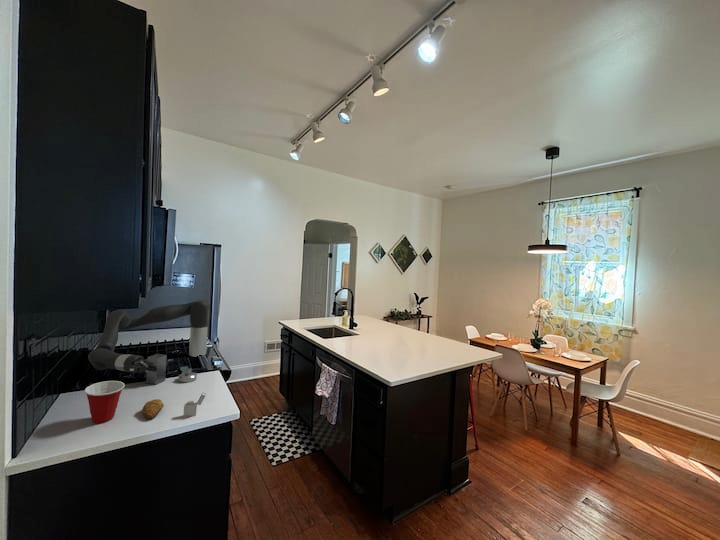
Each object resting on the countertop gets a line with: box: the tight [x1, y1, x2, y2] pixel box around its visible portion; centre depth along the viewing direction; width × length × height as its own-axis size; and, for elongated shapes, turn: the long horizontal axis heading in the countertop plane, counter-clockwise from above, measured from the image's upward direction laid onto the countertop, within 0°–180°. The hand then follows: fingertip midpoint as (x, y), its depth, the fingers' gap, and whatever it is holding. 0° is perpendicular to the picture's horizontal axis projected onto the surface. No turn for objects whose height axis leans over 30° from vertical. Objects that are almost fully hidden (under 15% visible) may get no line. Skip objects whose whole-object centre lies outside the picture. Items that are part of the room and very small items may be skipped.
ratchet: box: [178, 365, 198, 384], centre depth 146 cm, size 19×8×5 cm, turn 37°
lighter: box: [182, 392, 207, 418], centre depth 111 cm, size 7×2×8 cm, turn 114°
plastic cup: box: [84, 380, 126, 425], centre depth 104 cm, size 11×11×12 cm
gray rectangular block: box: [145, 353, 168, 385], centre depth 136 cm, size 5×5×12 cm
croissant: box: [142, 398, 165, 421], centre depth 111 cm, size 14×7×5 cm, turn 26°
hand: (161, 367), depth 136 cm, fingers closed on gray rectangular block, 5 cm apart
